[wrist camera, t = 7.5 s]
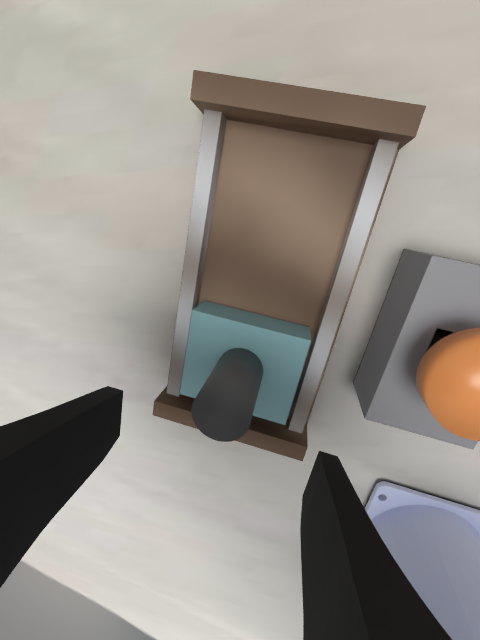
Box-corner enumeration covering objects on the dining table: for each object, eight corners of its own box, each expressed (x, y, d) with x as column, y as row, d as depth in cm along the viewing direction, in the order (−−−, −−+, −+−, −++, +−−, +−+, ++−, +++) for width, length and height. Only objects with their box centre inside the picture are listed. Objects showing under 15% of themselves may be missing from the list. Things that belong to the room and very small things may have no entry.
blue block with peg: (286, 404, 18) (280, 486, 12) (192, 376, 18) (144, 443, 13) (310, 327, 16) (314, 382, 10) (204, 300, 17) (155, 338, 11)
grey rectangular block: (440, 406, 17) (473, 449, 14) (353, 383, 18) (364, 418, 15) (509, 271, 14) (570, 285, 11) (404, 249, 15) (432, 255, 12)
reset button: (464, 393, 15) (523, 454, 11) (381, 371, 15) (410, 423, 11) (504, 318, 13) (589, 357, 9) (412, 297, 14) (456, 326, 10)
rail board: (302, 427, 19) (302, 461, 17) (173, 388, 20) (152, 414, 18) (400, 130, 14) (426, 105, 11) (214, 99, 15) (193, 69, 12)
